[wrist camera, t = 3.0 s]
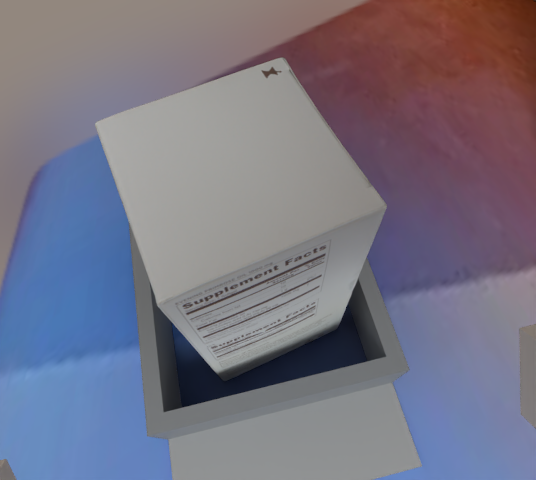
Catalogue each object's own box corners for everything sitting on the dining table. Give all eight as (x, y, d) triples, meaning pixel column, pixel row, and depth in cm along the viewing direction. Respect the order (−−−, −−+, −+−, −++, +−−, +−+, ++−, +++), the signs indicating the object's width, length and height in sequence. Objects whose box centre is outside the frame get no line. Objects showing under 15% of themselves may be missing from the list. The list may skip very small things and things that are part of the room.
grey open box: (306, 147, 38) (309, 106, 33) (419, 465, 26) (446, 467, 21) (142, 182, 37) (122, 144, 32) (180, 530, 25) (156, 546, 20)
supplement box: (178, 271, 33) (86, 114, 18) (284, 226, 34) (281, 46, 19) (223, 387, 29) (152, 310, 14) (342, 330, 30) (395, 204, 15)
